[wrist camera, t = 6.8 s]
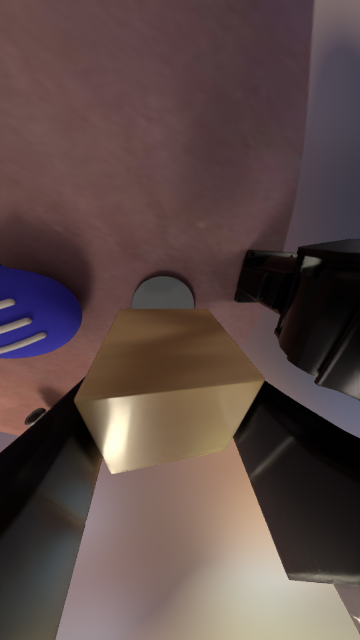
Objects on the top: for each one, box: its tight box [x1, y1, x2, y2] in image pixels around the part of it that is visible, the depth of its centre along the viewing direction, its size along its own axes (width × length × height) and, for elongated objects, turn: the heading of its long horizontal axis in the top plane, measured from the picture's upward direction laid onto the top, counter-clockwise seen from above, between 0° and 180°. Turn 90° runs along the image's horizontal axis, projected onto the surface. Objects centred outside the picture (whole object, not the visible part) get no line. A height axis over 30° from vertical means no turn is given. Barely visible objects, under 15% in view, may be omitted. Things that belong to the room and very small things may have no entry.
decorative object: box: [0, 264, 82, 358], centre depth 12 cm, size 10×6×10 cm
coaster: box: [132, 276, 194, 309], centre depth 18 cm, size 8×8×1 cm
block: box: [74, 309, 265, 474], centre depth 7 cm, size 5×5×5 cm
